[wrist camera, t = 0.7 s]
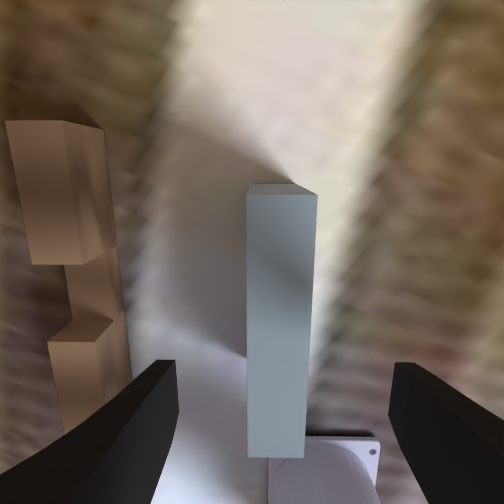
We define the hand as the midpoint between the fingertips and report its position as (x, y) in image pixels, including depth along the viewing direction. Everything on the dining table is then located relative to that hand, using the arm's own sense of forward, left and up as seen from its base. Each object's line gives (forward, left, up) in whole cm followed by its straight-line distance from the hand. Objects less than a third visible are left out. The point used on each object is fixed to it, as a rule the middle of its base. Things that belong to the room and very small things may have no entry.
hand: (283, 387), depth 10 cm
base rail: (0, +11, -10) cm, 15 cm away
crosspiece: (0, 0, -10) cm, 10 cm away
